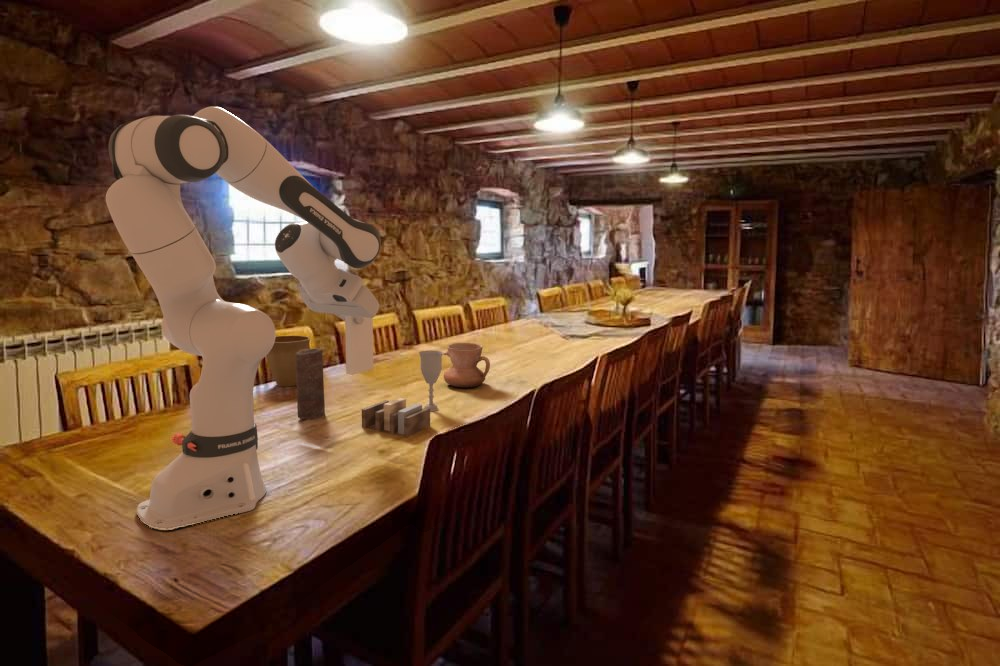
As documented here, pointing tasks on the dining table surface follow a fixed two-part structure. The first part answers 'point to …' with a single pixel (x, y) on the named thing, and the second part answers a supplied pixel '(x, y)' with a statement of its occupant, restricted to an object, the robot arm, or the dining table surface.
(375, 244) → the robot arm
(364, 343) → the tall board
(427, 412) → the rack
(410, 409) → the offcut
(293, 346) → the plant pot
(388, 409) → the offcut
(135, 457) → the dining table surface
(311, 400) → the dark stone block
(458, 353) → the ceramic jug
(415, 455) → the dining table surface
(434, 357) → the chalice
